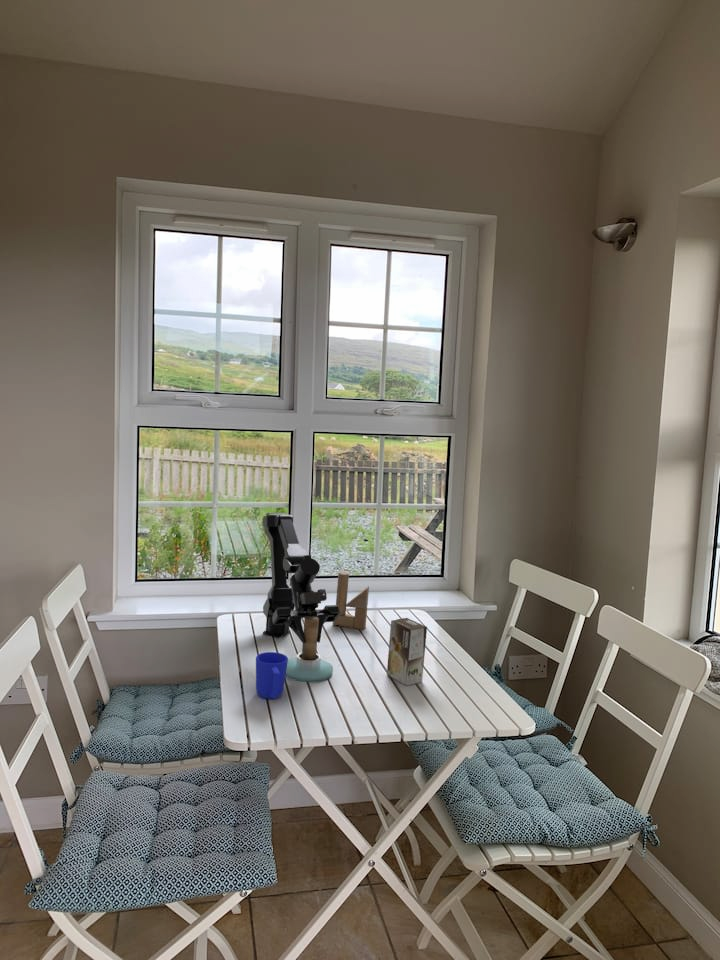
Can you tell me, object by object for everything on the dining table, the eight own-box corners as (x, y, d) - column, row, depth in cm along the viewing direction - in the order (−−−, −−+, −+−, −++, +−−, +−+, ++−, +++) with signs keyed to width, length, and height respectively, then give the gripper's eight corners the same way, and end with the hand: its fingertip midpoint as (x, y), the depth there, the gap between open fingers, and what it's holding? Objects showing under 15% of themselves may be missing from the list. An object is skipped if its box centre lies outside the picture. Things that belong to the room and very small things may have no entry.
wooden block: (363, 630, 250) (368, 577, 247) (332, 625, 252) (336, 573, 249) (365, 626, 253) (370, 575, 251) (335, 622, 255) (339, 571, 253)
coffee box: (423, 682, 210) (428, 626, 208) (406, 686, 206) (411, 630, 204) (402, 670, 217) (407, 617, 215) (385, 674, 213) (390, 620, 211)
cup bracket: (273, 673, 207) (274, 657, 206) (299, 658, 219) (300, 643, 219) (316, 686, 201) (318, 670, 200) (341, 670, 213) (342, 655, 213)
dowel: (298, 661, 210) (301, 617, 209) (310, 659, 213) (314, 615, 211) (305, 666, 207) (309, 621, 205) (318, 664, 209) (321, 620, 208)
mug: (258, 709, 184) (260, 670, 183) (251, 688, 196) (253, 652, 194) (290, 707, 187) (293, 669, 185) (282, 687, 198) (284, 651, 197)
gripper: (278, 579, 207) (286, 631, 198) (340, 578, 214) (351, 627, 205) (268, 598, 215) (276, 649, 206) (329, 596, 222) (339, 645, 214)
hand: (311, 642), depth 208 cm, fingers closed on dowel, 4 cm apart
